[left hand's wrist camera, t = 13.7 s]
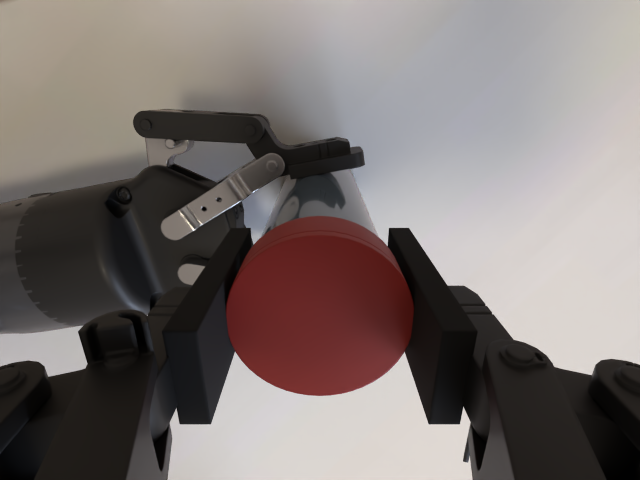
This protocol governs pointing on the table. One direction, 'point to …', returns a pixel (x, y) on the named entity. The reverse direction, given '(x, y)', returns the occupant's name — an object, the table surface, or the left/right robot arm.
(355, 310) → the lid
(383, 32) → the table surface
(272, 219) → the jar
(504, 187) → the table surface
